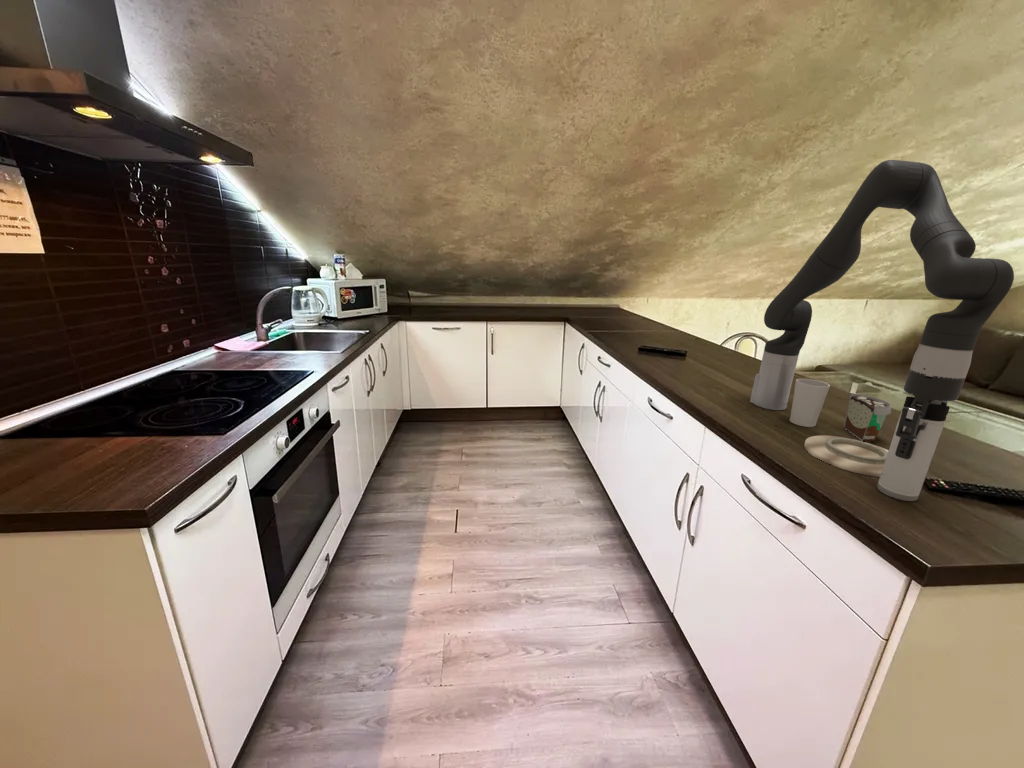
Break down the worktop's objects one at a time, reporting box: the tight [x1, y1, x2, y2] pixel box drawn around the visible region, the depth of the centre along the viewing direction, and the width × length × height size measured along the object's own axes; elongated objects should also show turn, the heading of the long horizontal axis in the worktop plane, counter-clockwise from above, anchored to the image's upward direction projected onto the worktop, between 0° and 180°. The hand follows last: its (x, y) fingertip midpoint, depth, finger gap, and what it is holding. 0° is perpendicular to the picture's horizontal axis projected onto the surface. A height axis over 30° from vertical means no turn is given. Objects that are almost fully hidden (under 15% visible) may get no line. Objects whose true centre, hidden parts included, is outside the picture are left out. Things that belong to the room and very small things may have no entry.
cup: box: [789, 378, 831, 428], centre depth 122 cm, size 8×8×12 cm
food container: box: [843, 392, 892, 443], centre depth 115 cm, size 12×6×10 cm, turn 168°
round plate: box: [803, 435, 889, 478], centre depth 102 cm, size 20×20×2 cm
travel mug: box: [876, 395, 951, 502], centre depth 84 cm, size 6×7×20 cm
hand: (909, 453), depth 84 cm, fingers closed on travel mug, 6 cm apart
